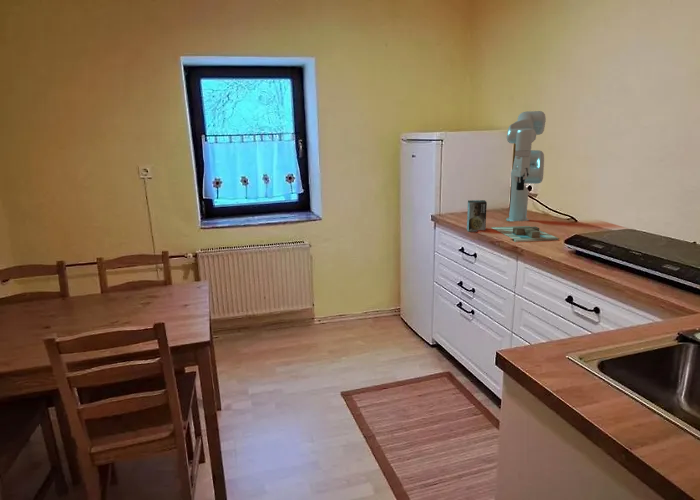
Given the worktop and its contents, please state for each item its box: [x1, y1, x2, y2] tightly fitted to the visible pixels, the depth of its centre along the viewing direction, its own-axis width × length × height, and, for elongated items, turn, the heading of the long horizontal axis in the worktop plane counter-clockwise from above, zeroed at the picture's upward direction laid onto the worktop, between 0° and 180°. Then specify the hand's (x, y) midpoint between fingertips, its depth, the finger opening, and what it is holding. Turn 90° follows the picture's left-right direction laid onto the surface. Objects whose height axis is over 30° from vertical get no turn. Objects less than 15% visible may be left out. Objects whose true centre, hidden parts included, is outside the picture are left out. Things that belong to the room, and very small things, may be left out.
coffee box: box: [466, 199, 488, 233], centre depth 241 cm, size 9×6×16 cm
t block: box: [512, 226, 540, 238], centre depth 226 cm, size 12×12×3 cm
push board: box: [490, 225, 560, 243], centre depth 233 cm, size 30×22×1 cm
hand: (519, 190), depth 234 cm, fingers closed
